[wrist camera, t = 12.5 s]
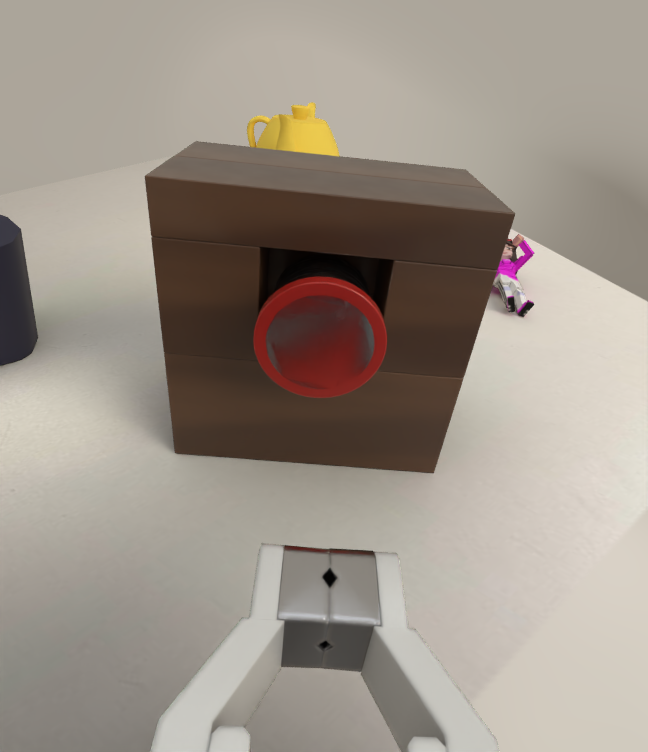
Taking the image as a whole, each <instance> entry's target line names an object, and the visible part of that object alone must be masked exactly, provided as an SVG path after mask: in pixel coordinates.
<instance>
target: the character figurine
mask: <svg viewBox="0 0 648 752" xmlns="http://www.w3.org/2000/svg"><path fill="white" fill-rule="evenodd" d="M518 246H520V248H521V249H522V250H523V252H524V253H525V255H524V256H521V257H519V258H518V259H517V257H516V248H517V247H518ZM533 254H534V252H533V251H532V249H531V248H530V247H529V245H528V244H527V243H526V241H525V240H524V238H523V237H522V236H520V235H519V234H518V235H517V236H516V237H515V238H514V239H513V241H512V239H507V242H506V245H505V248H504V251H503V255H502V258H501V261H500V264H499V267H498V269H497V273H496V277H495V280H494V283H493V286H495V287H497V288H499V291H500V293H501V295H502V298H503V301H504V303H505V305H506V308H508V311H509V312H514V311H515V307H516V308H517V312H518V314H519V315H521V316H523V317H524V316H525V315H526V313H527V312H528V311H529V310H530V309H531V308H532V307H533V305H534V303H533V302H531V301H529V300H528V301H527V302H526V299H525V294H524V293H523V292H522V290H523V288H522V287H521V286H520V284H519V281H518V279H517V277H516V276H515V274H517V271H518V270H519V269H520V268H521V267H522V266H523V265H524V264H525V263H526V262H527V261H528V260H529V259H530V258H531V257H532V256H533Z"/></svg>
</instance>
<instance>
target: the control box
mask: <svg viewBox="0 0 648 752" xmlns="http://www.w3.org/2000/svg"><path fill="white" fill-rule="evenodd" d="M145 182H146V192H147V201H148V210H149V219H150V228H151V236H152V248H153V257H154V266H155V275H156V284H157V293H158V303H159V312H160V321H161V330H162V339H163V349H164V352H165V353H164V357H165V366H166V375H167V384H168V394H169V403H170V412H171V421H172V430H173V440H174V449H175V453H180V454H193V455H206V456H219V457H232V458H245V459H258V460H271V461H285V462H298V463H311V464H324V465H337V466H350V467H363V468H376V469H389V470H402V471H415V472H428V473H434V470H435V467H436V464H437V461H438V458H439V454H440V451H441V448H442V445H443V442H444V439H445V435H446V432H447V429H448V426H449V423H450V420H451V416H452V413H453V410H454V407H455V404H456V400H457V397H458V394H459V391H460V388H461V385H462V381H463V378H464V375H465V372H466V369H467V365H468V362H469V359H470V356H471V353H472V350H473V346H474V343H475V340H476V337H477V334H478V330H479V327H480V324H481V321H482V318H483V315H484V311H485V308H486V305H487V302H488V299H489V296H490V292H491V289H492V286H493V283H494V280H495V277H496V273H497V269H498V267H499V264H500V261H501V258H502V255H503V251H504V248H505V245H506V242H507V239H508V235H509V232H510V229H511V226H512V223H513V220H514V216H515V213H514V212H513V211H512V210H511V209H510V208H508V207H507V206H506V205H505V204H504V203H503V202H502V201H501V200H500V199H498V198H497V197H496V196H495V195H494V194H493V193H491V191H489V190H488V189H487V188H486V187H485V186H484V185H482V184H481V183H480V182H479V181H478V180H477V179H476V178H474V177H473V176H472V175H471V174H470V173H469V172H468V171H467V170H463V169H454V168H445V167H435V166H425V165H416V164H407V163H397V162H388V161H378V160H369V159H359V158H349V157H340V156H331V155H321V154H312V153H302V152H293V151H283V150H274V149H264V148H255V147H245V146H236V145H226V144H217V143H207V142H198V141H196V142H194V143H192V144H191V145H189V146H188V147H187V148H185V149H184V150H182V151H181V152H180V153H178V154H177V155H175V156H173V157H172V158H170V159H169V160H167V161H166V162H164V163H163V164H162V165H160V166H159V167H157V168H156V169H154V170H153V171H151V172H150V173H148V174H147V175H145ZM319 254H322V255H332V256H336V257H339V258H341V259H344V260H346V261H347V262H349V263H351V264H352V265H353V266H354V267H356V268H357V269H358V270H359V271H360V273H361V274H362V275H363V277H364V279H365V280H366V282H367V285H368V288H369V293H370V297H371V299H372V300H373V301H374V302H375V303H376V305H377V306H378V308H379V310H380V312H381V314H382V316H383V319H384V322H385V327H386V332H387V348H386V353H385V356H384V359H383V361H382V364H381V365H380V367H379V369H378V370H377V372H376V373H375V374H374V375H373V376H372V378H370V379H369V380H368V381H367V382H366V383H365V384H363V385H362V386H361V387H359V388H357V389H355V390H354V391H351V392H349V393H347V394H343V395H340V396H336V397H329V398H313V397H306V396H302V395H298V394H295V393H292V392H290V391H288V390H286V389H284V388H283V387H281V386H279V385H278V384H277V383H275V382H274V381H273V380H272V379H271V378H270V377H269V376H268V375H267V374H266V373H265V371H264V370H263V369H262V367H261V365H260V364H259V362H258V360H257V357H256V354H255V350H254V345H253V334H254V328H255V324H256V320H257V317H258V314H259V312H260V310H261V308H262V306H263V305H264V303H265V302H266V301H267V300H268V298H269V297H270V296H271V295H272V294H273V293H274V289H275V285H276V283H277V280H278V278H279V277H280V275H281V274H282V273H283V271H284V270H285V269H286V268H287V267H288V266H289V265H291V264H292V263H294V262H295V261H297V260H299V259H301V258H304V257H307V256H311V255H319Z"/></svg>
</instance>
